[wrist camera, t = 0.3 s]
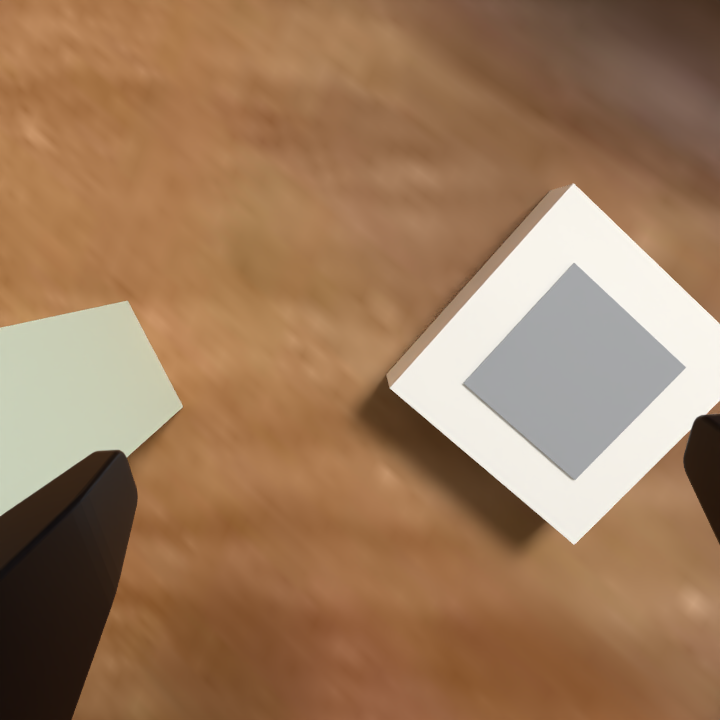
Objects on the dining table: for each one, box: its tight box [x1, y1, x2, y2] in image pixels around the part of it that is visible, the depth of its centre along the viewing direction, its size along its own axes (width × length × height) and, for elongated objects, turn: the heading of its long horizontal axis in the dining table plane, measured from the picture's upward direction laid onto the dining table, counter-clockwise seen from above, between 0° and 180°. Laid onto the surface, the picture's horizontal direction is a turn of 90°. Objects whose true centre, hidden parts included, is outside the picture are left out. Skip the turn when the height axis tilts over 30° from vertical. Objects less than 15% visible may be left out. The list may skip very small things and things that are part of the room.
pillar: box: [0, 301, 183, 516], centre depth 17 cm, size 5×5×14 cm
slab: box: [386, 183, 720, 544], centre depth 23 cm, size 10×10×3 cm
